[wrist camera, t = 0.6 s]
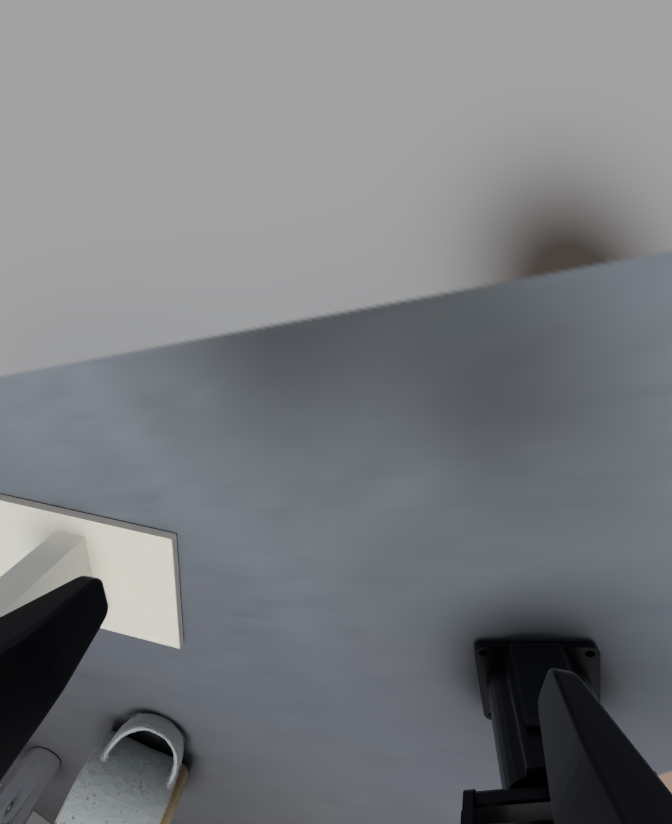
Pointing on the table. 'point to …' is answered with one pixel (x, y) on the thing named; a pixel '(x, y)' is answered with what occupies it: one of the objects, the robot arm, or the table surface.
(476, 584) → the table surface
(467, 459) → the table surface
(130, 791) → the ceramic mug
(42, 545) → the tile
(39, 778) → the milkshake
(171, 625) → the mat
